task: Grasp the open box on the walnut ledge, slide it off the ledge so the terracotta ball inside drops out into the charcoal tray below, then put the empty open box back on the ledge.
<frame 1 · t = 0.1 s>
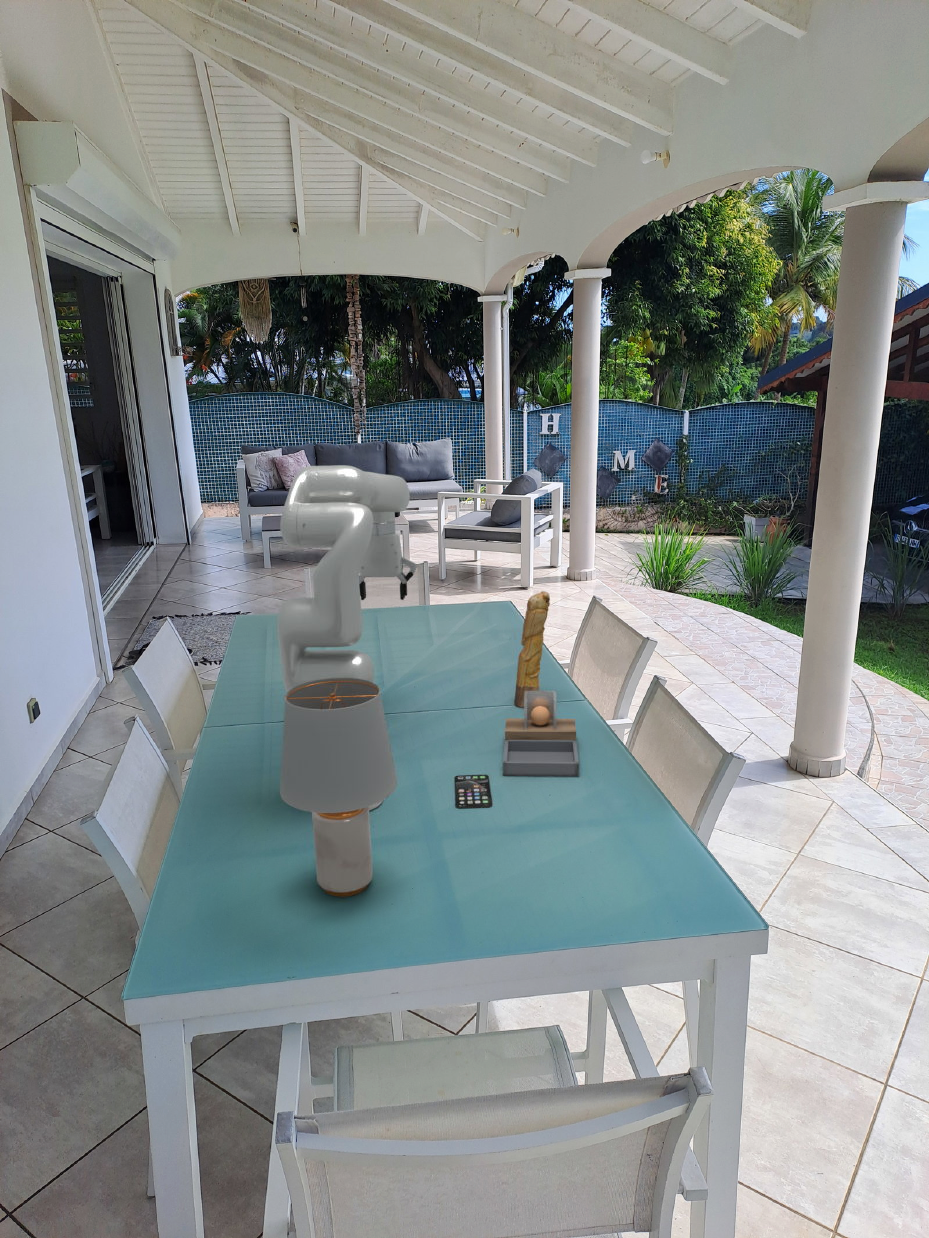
hand: (383, 598, 210), 31 cm above the table, tool pointing down, fingers open, 9 cm apart
ball: (540, 715, 198), point 7 cm above the table, touching ledge
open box: (540, 724, 199), point 5 cm above the table, touching ledge
sculpture: (532, 704, 226), on the table
lamp: (345, 884, 146), on the table
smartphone: (472, 793, 178), on the table
tray: (540, 763, 190), on the table
ledge: (540, 745, 200), on the table
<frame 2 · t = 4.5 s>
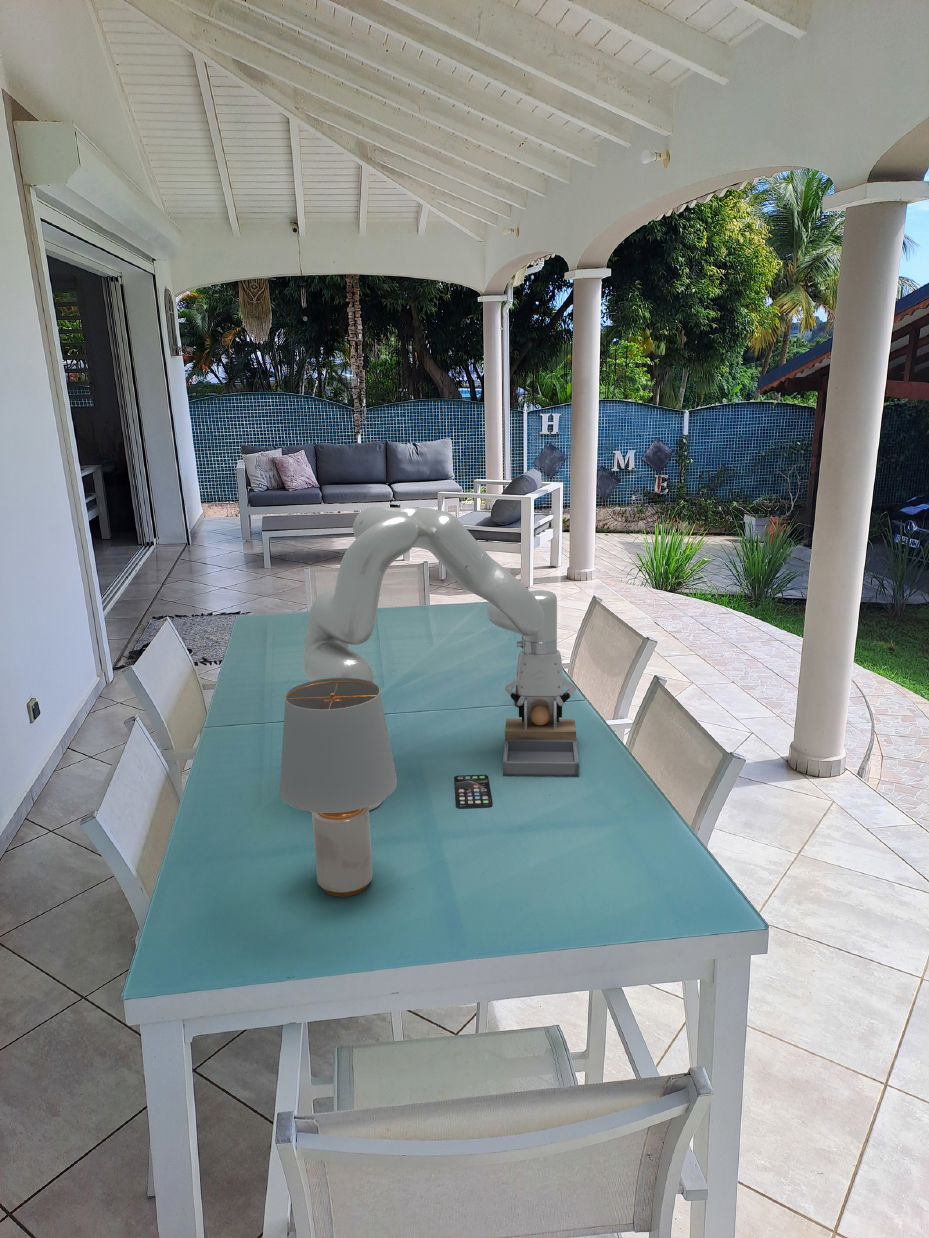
hand: (540, 719, 198), 6 cm above the table, tool pointing down, fingers closed on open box, 7 cm apart
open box: (540, 724, 199), point 5 cm above the table, touching gripper, ledge
everything else where it was.
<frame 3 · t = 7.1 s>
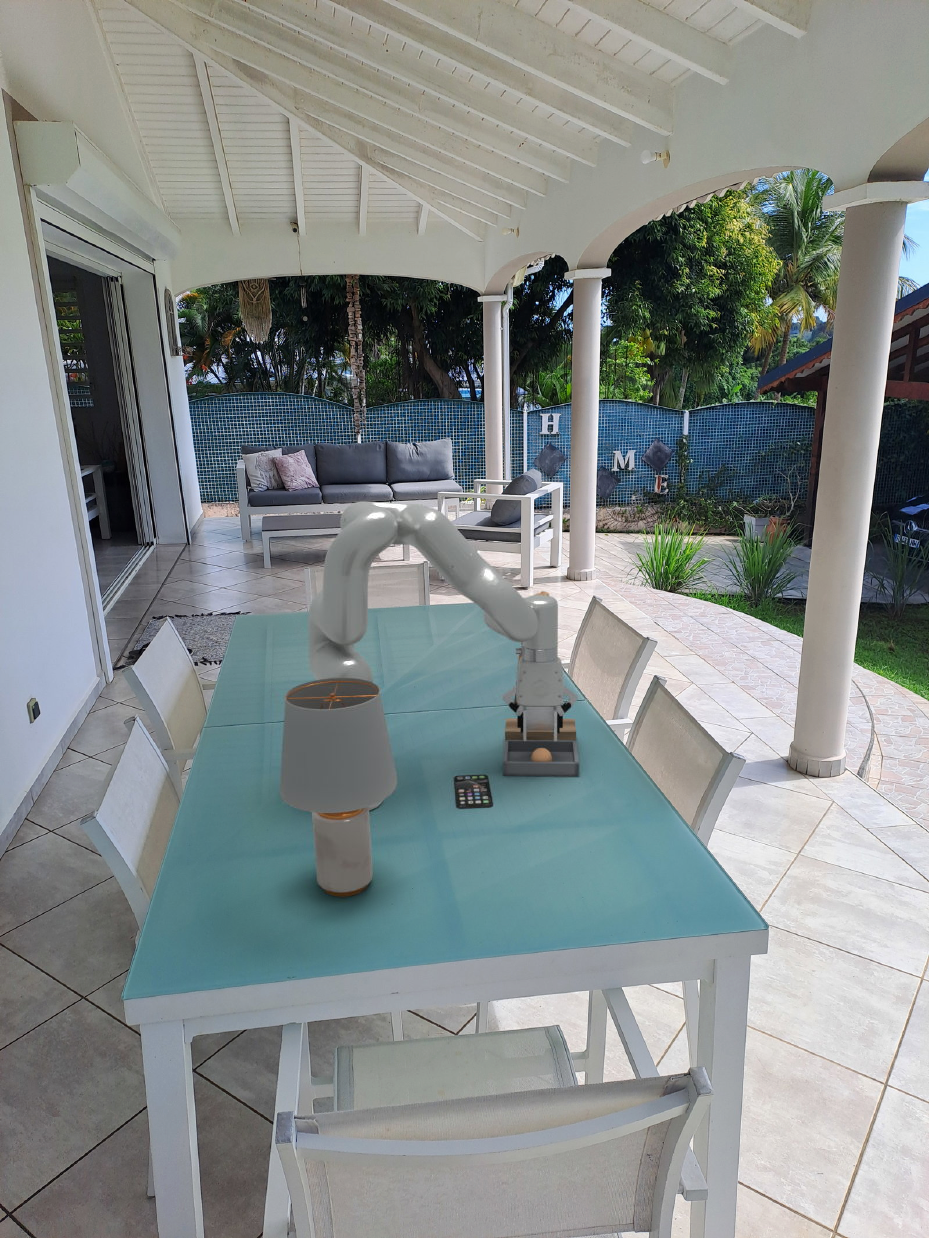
hand: (540, 730, 189), 7 cm above the table, tool pointing down, fingers closed on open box, 7 cm apart
ball: (541, 758, 186), point 3 cm above the table, tilted 35°, touching tray
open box: (540, 735, 190), point 6 cm above the table, touching gripper
everything else where it was.
when the fingers open (8 cm above the table, at t = 13.6 s): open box drops 1 cm, resting on ledge.
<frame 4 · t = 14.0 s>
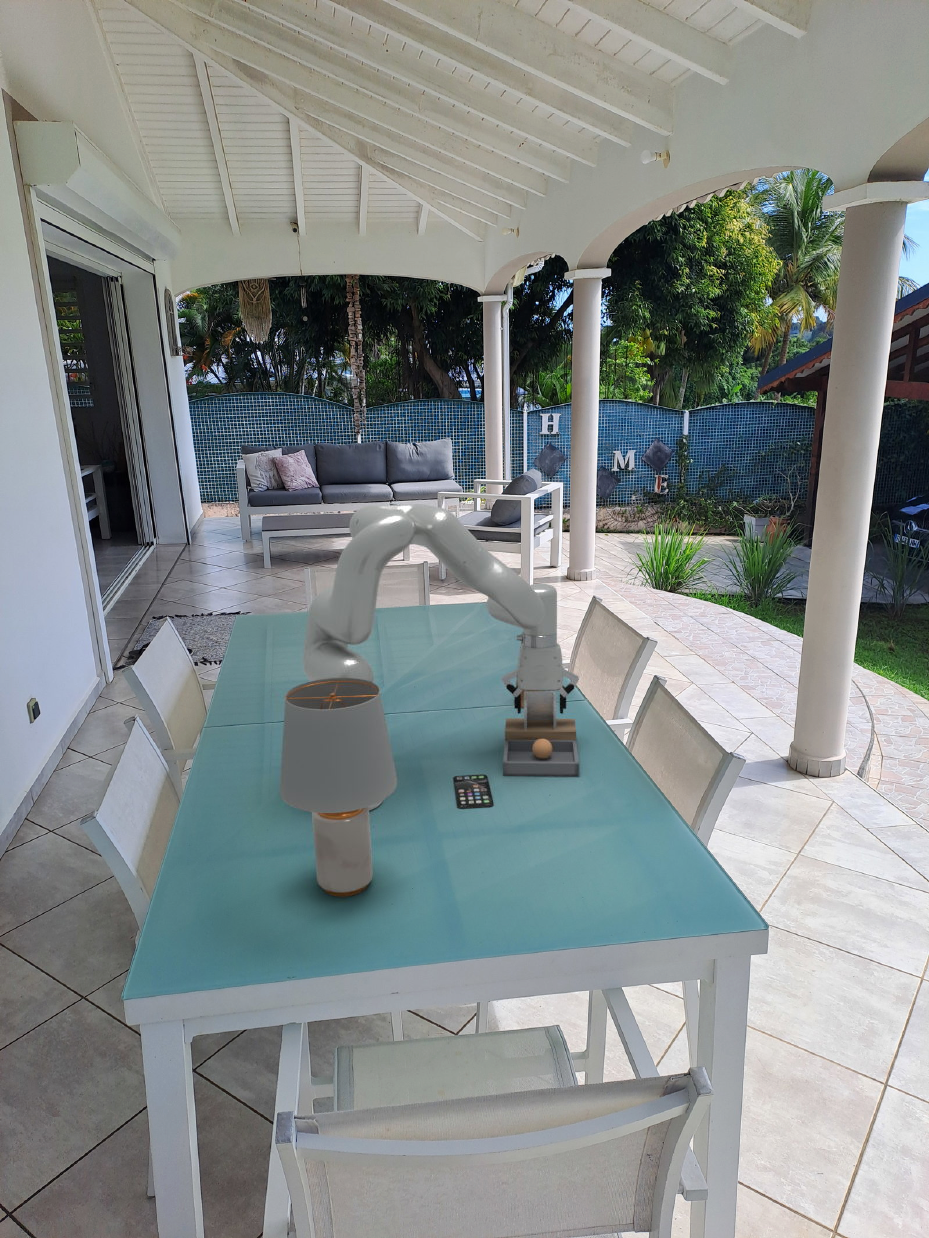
hand: (540, 711, 198), 8 cm above the table, tool pointing down, fingers open, 9 cm apart
ball: (542, 748, 191), point 3 cm above the table, tilted 99°, touching tray
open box: (540, 725, 198), point 5 cm above the table, touching ledge
everything else where it was.
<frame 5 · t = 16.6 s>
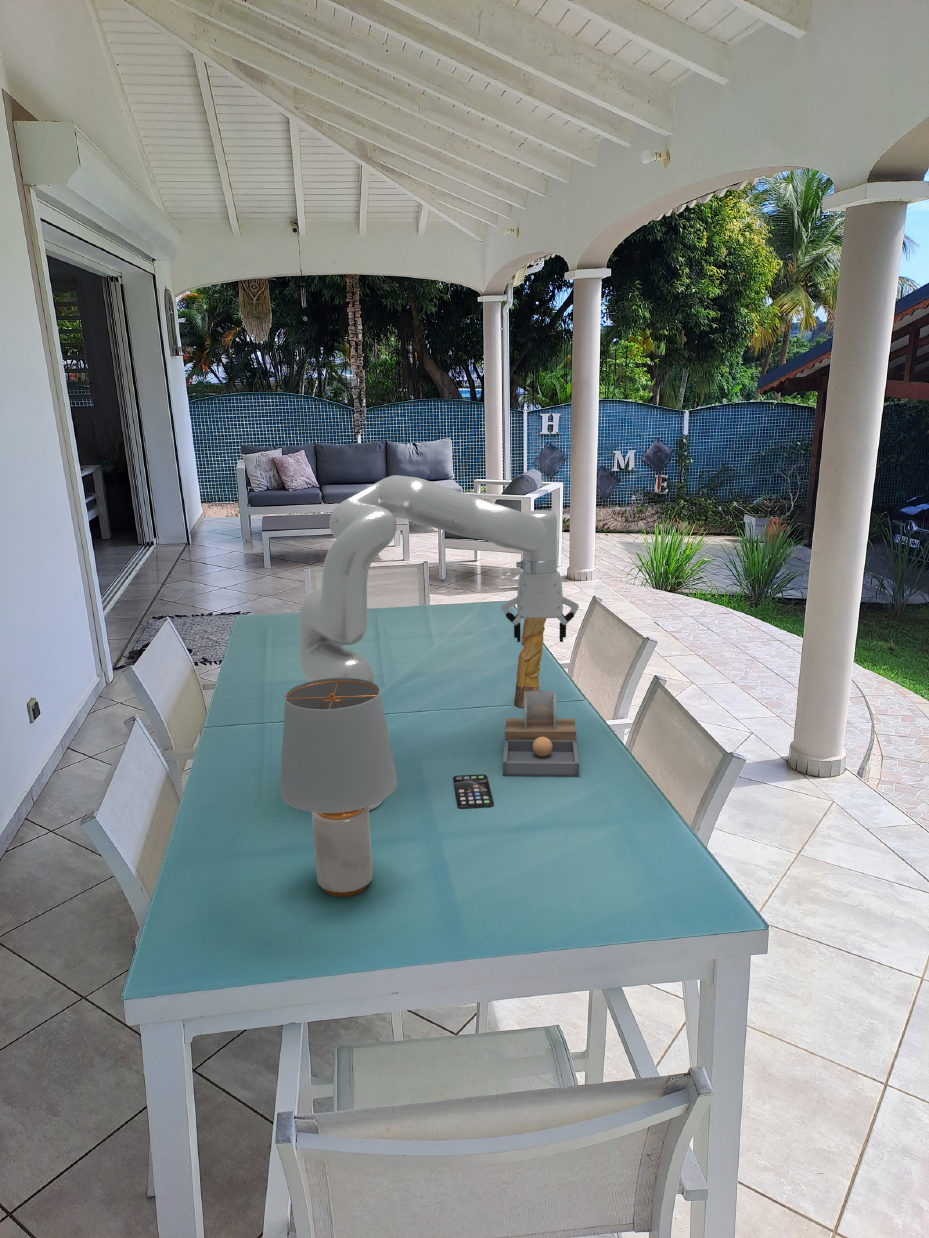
hand: (540, 640, 197), 24 cm above the table, tool pointing down, fingers open, 9 cm apart
ball: (542, 746, 192), point 3 cm above the table, tilted 128°, touching tray
everything else where it was.
at the end: ball inside the target area on the tray (3.2 cm from its centre), point 2.7 cm above the tray's base; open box inside the target area on the ledge (0.1 cm from its centre), point 5.0 cm above the ledge's base; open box tilted 0° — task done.
